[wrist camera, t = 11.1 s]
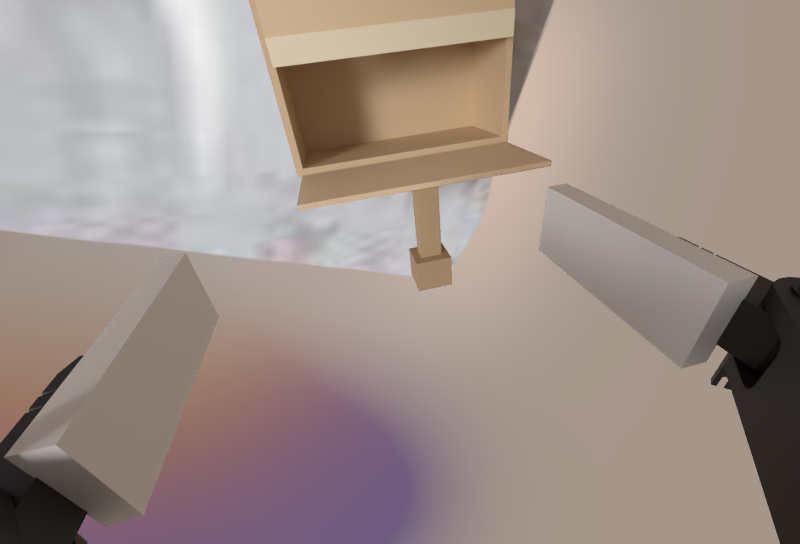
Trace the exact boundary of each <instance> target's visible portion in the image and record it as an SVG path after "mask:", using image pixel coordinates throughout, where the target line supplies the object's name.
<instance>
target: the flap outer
mask: <svg viewBox="0 0 800 544" xmlns="http://www.w3.org/2000/svg"><path fill="white" fill-rule="evenodd" d="M548 166H551V160H549V159H546V158H543V157H541V156H539V155H536V154H534V153H532V152H529V151H527V150H524V149H522V148H519V147H517V146H515V145H512V144H510V143H507V142H502V143H496V144H490V145H484V146H478V147H472V148H466V149H460V150H454V151H448V152H442V153H436V154H430V155H424V156H418V157H412V158H406V159H400V160H394V161H388V162H382V163H376V164H370V165H364V166H358V167H352V168H346V169H340V170H334V171H328V172H322V173H316V174H310V175H304V176H302V181H301V187H300V192H299V198H298V203H297V206H298V210H299V211H300V210H305V209H311V208H317V207H322V206H328V205H334V204H339V203H345V202H351V201H356V200H362V199H368V198H373V197H379V196H385V195H390V194H396V193H402V192H407V191H412V194H413V205H414V216H415V226H416V237H417V247H416V248H411V249H409V251H410V260H411V269H412V275H413V278H414V280H415V282H416V285H417V287H418V289H419V291H422V290H427V289H431V288H436V287H441V286H446V285H450V284H452V273H451V256H450V255H449V253H448V252H447V250H446V249H445V248H444V246H443V245H442V243H441V236H440V215H439V194H438V186H441V185H447V184H452V183H458V182H464V181H469V180H475V179H481V178H486V177H492V176H497V175H503V174H509V173H514V172H520V171H526V170H531V169H537V168H543V167H548Z"/></svg>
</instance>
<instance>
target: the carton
mask: <svg viewBox="0 0 800 544" xmlns="http://www.w3.org/2000/svg"><path fill="white" fill-rule="evenodd" d="M515 2H516V0H249V3H250V7H251V10H252V14H253V18H254V21H255V25H256V28H257V32H258V35H259V39H260V43H261V46H262V50H263V53H264V57H265V61H266V64H267V68H268V71H269V75H270V78H271V82H272V86H273V89H274V93H275V96H276V100H277V104H278V107H279V111H280V114H281V118H282V121H283V125H284V129H285V132H286V136H287V139H288V143H289V146H290V150H291V154H292V157H293V161H294V164H295V168H296V172H297V175H298V177H299V176H304V175H310V174H316V173H322V172H328V171H334V170H340V169H346V168H352V167H358V166H364V165H370V164H376V163H382V162H388V161H394V160H400V159H406V158H412V157H418V156H424V155H430V154H436V153H442V152H448V151H454V150H460V149H466V148H472V147H478V146H484V145H490V144H496V143H502V142H507V140H508V123H509V106H510V88H511V71H512V54H513V37H514V22H515Z"/></svg>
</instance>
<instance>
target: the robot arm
mask: <svg viewBox="0 0 800 544" xmlns="http://www.w3.org/2000/svg"><path fill="white" fill-rule="evenodd" d="M539 250H540V251H541V252H542V253H543V254H545V255H546V256H547V257H548V258H549V259H550V260H552V261H553V262H554V263H555V264H557V265H558V266H559V267H560V268H561V269H562V270H564V271H565V272H566V273H567V274H569V275H570V276H571V277H572V278H573V279H574V280H576V281H577V282H578V283H579V284H581V285H582V286H583V287H584V288H585V289H587V290H588V291H589V292H590V293H591V294H592V295H594V296H595V297H596V298H597V299H598V300H600V301H601V302H602V303H603V304H604V305H606V306H607V307H608V308H609V309H610V310H612V311H613V312H614V313H615V314H616V315H618V316H619V317H620V318H621V319H622V320H624V321H625V322H626V323H627V324H628V325H630V326H631V327H632V328H633V329H634V330H636V331H637V332H638V333H639V334H640V335H642V336H643V337H644V338H645V339H646V340H648V341H649V342H650V343H651V344H652V345H654V346H655V347H656V348H657V349H658V350H660V351H661V352H662V353H663V354H664V355H666V356H667V357H668V358H669V359H670V360H671V361H673V362H674V363H675V364H676V365H677V366H679V367H680V368H681V369H682V368H685V367H689V366H692V365H696V364H700V363H703V362H706V361H707V360H708V358H709V356H710V355H711V353H712V352H713V350H714V348H715V346H716V345H719V346H720V347H721V348H723V349H724V350H726V351H727V352H728V353H727V355H726V357H725V358H724V360H723V361H722V363H721V364H720V366H719V367H718V369H717V370H716V372H715V374H714V375H713V377H712V378H711V385H715V386H716V385H717V384H718V383H719V381H720V380H721V378H722V377H727V378H728V382H727V383H726V385H725V386H724V388H726V389H730V390H732V393H733V396H734V400H735V403H736V406H737V409H738V412H739V416H740V419H741V422H742V425H743V428H744V431H745V434H746V438H747V441H748V444H749V447H750V450H751V453H752V456H753V460H754V463H755V466H756V469H757V472H758V475H759V479H760V482H761V485H762V488H763V491H764V494H765V497H766V500H767V504H768V507H769V510H770V513H771V516H772V519H773V522H774V525H775V529H776V532H777V535H778V538H779V541H780V544H800V278H795V277H787V278H780V279H778V280H776V281H775V282H773V281H770V280H768V279H766V278H764V277H762V276H760V275H758V274H756V273H754V272H752V271H749V270H747V269H745V268H743V267H741V266H739V265H737V264H735V263H733V262H731V261H729V260H726V259H724V258H722V257H720V256H718V255H714V254H713V253H712V252H710V251H708V250H706V249H703V248H699V246H697V245H695V244H693V243H691V242H689V241H687V240H685V239H682V238H679V237H676V236H674V235H672V234H670V233H668V232H666V231H664V230H662V229H660V228H658V227H656V226H654V225H651V224H649V223H647V222H645V221H643V220H641V219H639V218H637V217H635V216H633V215H631V214H629V213H627V212H624V211H622V210H620V209H618V208H616V207H614V206H612V205H610V204H608V203H606V202H603V201H602V200H599V199H597V198H595V197H593V196H591V195H589V194H587V193H585V192H583V191H581V190H579V189H577V188H574V187H572V186H570V185H568V184H562V185H557V186H551V187H548V193H547V200H546V206H545V212H544V219H543V226H542V232H541V238H540V245H539ZM218 317H219V316H218V314H217V312H216V310H215V308H214V306H213V304H212V302H211V301H210V299H209V297H208V295H207V293H206V291H205V289H204V287H203V285H202V284H201V282H200V280H199V278H198V276H197V274H196V272H195V270H194V269H193V267H192V265H191V263H190V261H189V259H188V257H187V255H186V254H179V255H173V256H168V257H162V258H160V259H159V261H158V262H157V263H156V264H155V266H154V267H153V268H152V270H151V271H150V272H149V273H148V275H147V276H146V277H145V279H144V280H143V281H142V282H141V284H140V285H139V286H138V287H137V289H136V290H135V291H134V292H133V294H132V295H131V296H130V298H129V299H128V300H127V301H126V303H125V304H124V305H123V306H122V308H121V309H120V310H119V311H118V313H117V314H116V315H115V317H114V318H113V319H112V320H111V322H110V323H109V324H108V326H107V327H106V328H105V329H104V331H103V332H102V333H101V334H100V336H99V337H98V338H97V339H96V341H95V342H94V343H93V345H92V346H91V347H90V348H89V350H88V351H87V352H86V354H85V355H83V356H79V357H78V358H77V359H76V360H74V361H73V362H72V363H71V364H69V365H68V366H67V367H66V368H64V369H63V370H62V371H61V372H60V373H58V374H57V376H56V377H55V378H54V379H53V380H52V381H51V383H50V384H49V385H48V386H47V388H46V389H45V390H44V391H43V392H42V394H43V395H42V396H40V397H38V399H37V400H36V401H35V402H34V403H33V405H32V406H31V407H30V408H29V413H25V414H24V415H23V417H22V418H21V419H20V420H19V422H18V423H17V424H16V425H15V426H14V428H13V429H12V430H11V431H10V432H9V434H8V435H7V436H6V437H5V438H4V440H3V441H2V442H1V443H0V544H87V541H86V540H85V539H84V538H82V536H80V535H79V534H77V532H78V530H79V528H80V526H81V524H82V522H83V520H84V518H85V516H86V514H87V515H89V516H90V517H92V518H94V519H95V520H96V521H98V522H99V523H101V524H102V525H104V526H106V525H110V524H113V523H117V522H121V521H124V520H128V519H132V518H136V517H139V516H143V515H144V513H145V511H146V508H147V505H148V503H149V500H150V497H151V495H152V492H153V489H154V487H155V484H156V482H157V479H158V476H159V474H160V471H161V468H162V465H163V463H164V460H165V458H166V455H167V452H168V450H169V447H170V444H171V442H172V439H173V436H174V434H175V431H176V428H177V426H178V423H179V420H180V418H181V415H182V412H183V410H184V407H185V404H186V402H187V399H188V397H189V394H190V391H191V389H192V386H193V383H194V381H195V378H196V375H197V373H198V370H199V367H200V364H201V362H202V359H203V356H204V354H205V351H206V349H207V346H208V343H209V341H210V338H211V336H212V333H213V330H214V328H215V325H216V322H217V319H218Z"/></svg>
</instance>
